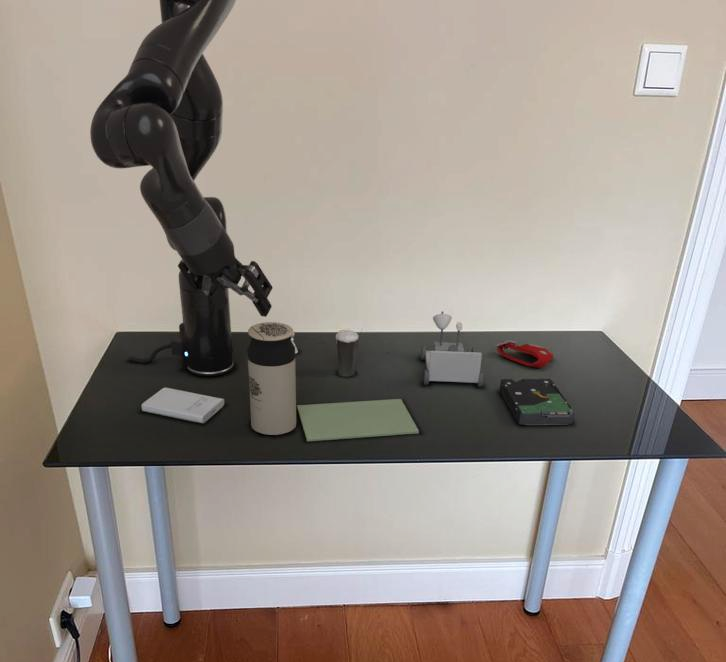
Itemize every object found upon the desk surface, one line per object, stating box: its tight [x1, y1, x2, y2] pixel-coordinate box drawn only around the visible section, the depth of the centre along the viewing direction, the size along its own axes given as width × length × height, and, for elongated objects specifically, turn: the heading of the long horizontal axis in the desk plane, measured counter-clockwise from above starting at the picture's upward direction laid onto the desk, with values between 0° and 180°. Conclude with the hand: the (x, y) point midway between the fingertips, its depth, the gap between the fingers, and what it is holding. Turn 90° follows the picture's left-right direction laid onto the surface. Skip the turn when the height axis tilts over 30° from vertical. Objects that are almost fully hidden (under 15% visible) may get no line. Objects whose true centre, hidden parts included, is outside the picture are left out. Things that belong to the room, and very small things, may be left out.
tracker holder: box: [494, 339, 554, 369], centre depth 163 cm, size 12×4×10 cm
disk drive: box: [499, 378, 575, 426], centre depth 144 cm, size 10×3×15 cm
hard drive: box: [141, 386, 225, 424], centre depth 140 cm, size 2×8×12 cm
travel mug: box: [246, 321, 297, 436], centre depth 131 cm, size 8×8×18 cm
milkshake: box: [335, 328, 363, 378], centre depth 153 cm, size 5×5×10 cm
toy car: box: [420, 311, 485, 388], centre depth 156 cm, size 18×10×12 cm
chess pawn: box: [291, 330, 299, 355], centre depth 162 cm, size 3×3×5 cm
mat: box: [296, 398, 420, 442], centre depth 138 cm, size 20×13×1 cm, turn 102°
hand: (244, 308), depth 122 cm, fingers open, 8 cm apart
